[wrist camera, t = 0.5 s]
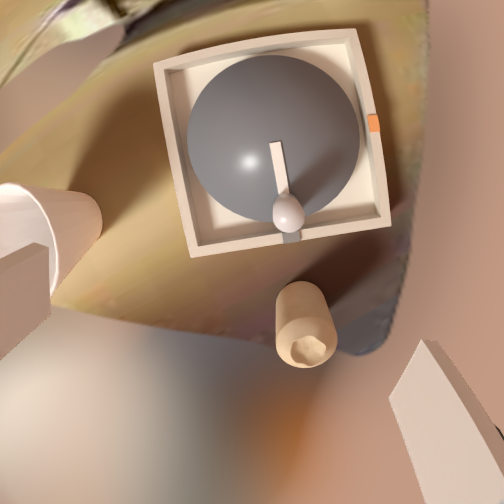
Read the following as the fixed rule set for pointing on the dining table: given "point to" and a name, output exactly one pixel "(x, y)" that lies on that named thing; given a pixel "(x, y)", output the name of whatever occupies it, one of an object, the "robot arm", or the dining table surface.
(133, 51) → the dining table surface
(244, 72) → the dial
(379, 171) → the dial plate
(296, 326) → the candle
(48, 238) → the cup
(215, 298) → the dining table surface
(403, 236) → the dining table surface
